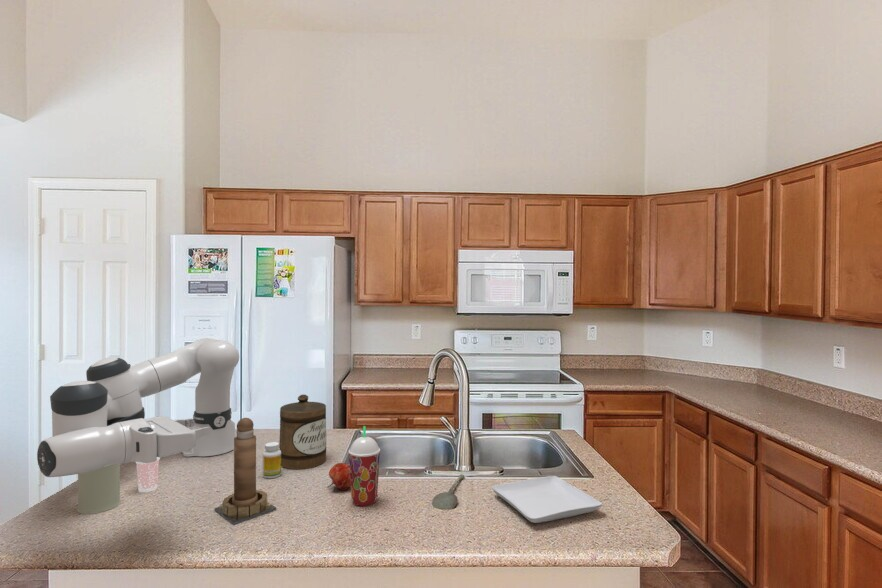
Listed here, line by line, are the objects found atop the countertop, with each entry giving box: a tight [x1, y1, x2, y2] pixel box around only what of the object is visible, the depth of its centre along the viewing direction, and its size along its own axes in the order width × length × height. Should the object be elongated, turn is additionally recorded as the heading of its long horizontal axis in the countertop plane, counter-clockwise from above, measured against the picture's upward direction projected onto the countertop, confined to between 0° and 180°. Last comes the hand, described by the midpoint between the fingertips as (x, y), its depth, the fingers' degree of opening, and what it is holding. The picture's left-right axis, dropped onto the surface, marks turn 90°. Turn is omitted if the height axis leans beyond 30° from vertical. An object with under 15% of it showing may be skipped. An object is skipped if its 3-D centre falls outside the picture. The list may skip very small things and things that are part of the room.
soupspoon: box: [431, 473, 466, 511], centre depth 134 cm, size 22×3×7 cm
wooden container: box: [278, 394, 327, 470], centre depth 158 cm, size 15×15×22 cm
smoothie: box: [348, 425, 381, 507], centre depth 128 cm, size 8×8×20 cm
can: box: [77, 464, 122, 515], centre depth 125 cm, size 9×9×12 cm
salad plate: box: [491, 475, 603, 524], centre depth 126 cm, size 21×21×3 cm
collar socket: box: [214, 489, 277, 526], centre depth 123 cm, size 11×11×3 cm
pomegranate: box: [327, 462, 351, 491], centre depth 137 cm, size 7×7×10 cm
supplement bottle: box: [262, 441, 282, 479], centre depth 146 cm, size 5×5×10 cm
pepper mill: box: [232, 417, 258, 506], centre depth 123 cm, size 6×6×23 cm
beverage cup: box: [134, 457, 161, 493], centre depth 136 cm, size 6×6×14 cm
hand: (201, 425), depth 116 cm, fingers open, 8 cm apart
